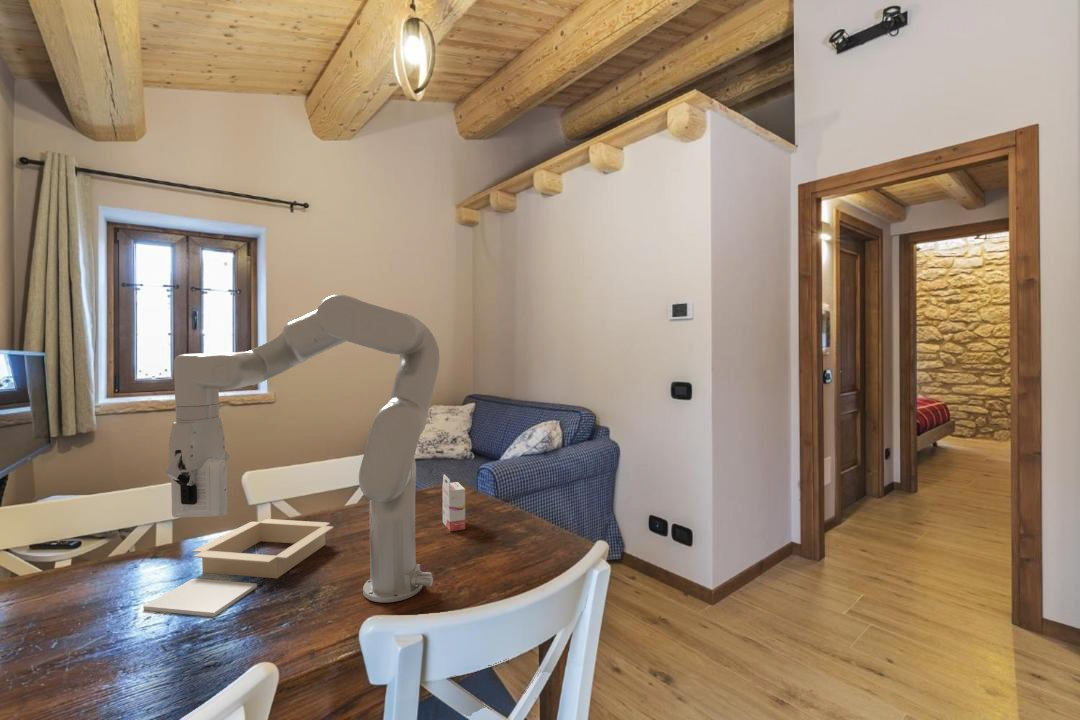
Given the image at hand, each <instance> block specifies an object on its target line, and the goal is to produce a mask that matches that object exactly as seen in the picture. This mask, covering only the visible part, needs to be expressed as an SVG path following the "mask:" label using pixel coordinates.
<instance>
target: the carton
mask: <svg viewBox="0 0 1080 720" xmlns="http://www.w3.org/2000/svg"><path fill="white" fill-rule="evenodd" d="M330 524H331V522H325V521H323V522H322V521H309V520H306V521H305V520H295V519H293V520H291V519H279V518H276V519H275V518H274V519H273V518H265V519H263V520H261V521H249V522H248V523H246V524H244V525H241V526H240V527H237V528H235V529H234V530H231V531H230V532H227V533H225V534H224V535H221V536H220V537H217V538H216V539H212V540H211V541H210V542H207V543H205V544H204V545H202V546H199V547H198V548H196V549H194V550H192V552H193V553H196V554H194V555H193V556H192V558H196V559H202V560H201V561H202V562H201V563H202V567H201V568H202V573H204V574H206V573H207V574H219V575H231V576H244V577H253V578H266V579H267V578H268V579H279V578H280V577H281V576H282V575H284V574H286V573H287V572H288V571H290V570H291V569H292V568H294V567H295V566H298V565H299V564H300V563H301V562H303V561H304V560H305V559H307V558H308V557H310V556H311V555H312V554H314V553H315V552H317V551H318V550H319V549H321V548H323V547H324V546H325V545H326V534H327V533H328V532H330V531H331V530H332V529H334V528H335V527H334V526H331V525H330ZM329 525H330V526H329ZM260 542H266V543H284V544H292V545H291V546H289V547H286V549H284V550H283V551H281V552H279V553H278V554H276V555H272V554H271V555H270V554H259V553H258V554H257V553H243V552H244V551H246V550H247V549H249V548H251V547H253V546H255V545H256V544H258V543H260Z"/></svg>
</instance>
